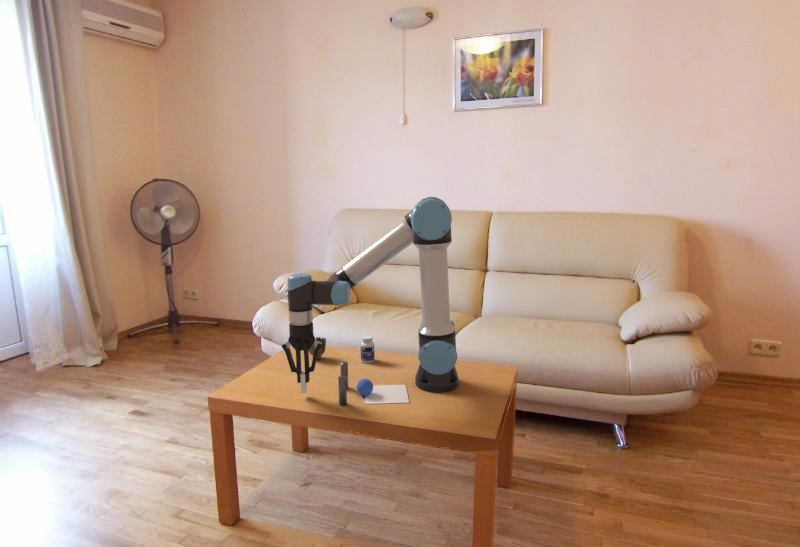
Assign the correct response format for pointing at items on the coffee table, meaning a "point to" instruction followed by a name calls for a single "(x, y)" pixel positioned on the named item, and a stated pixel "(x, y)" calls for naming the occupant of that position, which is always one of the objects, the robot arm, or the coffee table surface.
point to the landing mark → (387, 394)
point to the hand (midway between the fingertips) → (303, 391)
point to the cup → (321, 350)
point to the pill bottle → (367, 349)
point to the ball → (364, 387)
